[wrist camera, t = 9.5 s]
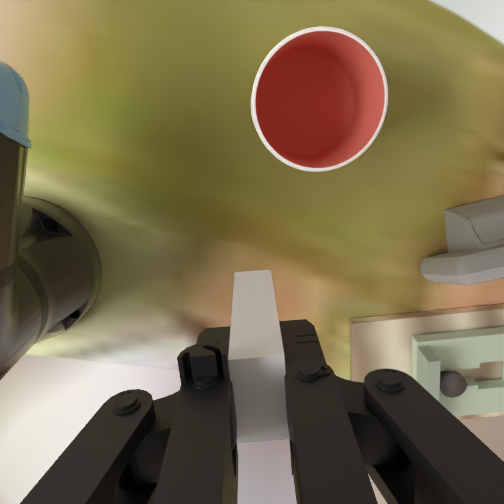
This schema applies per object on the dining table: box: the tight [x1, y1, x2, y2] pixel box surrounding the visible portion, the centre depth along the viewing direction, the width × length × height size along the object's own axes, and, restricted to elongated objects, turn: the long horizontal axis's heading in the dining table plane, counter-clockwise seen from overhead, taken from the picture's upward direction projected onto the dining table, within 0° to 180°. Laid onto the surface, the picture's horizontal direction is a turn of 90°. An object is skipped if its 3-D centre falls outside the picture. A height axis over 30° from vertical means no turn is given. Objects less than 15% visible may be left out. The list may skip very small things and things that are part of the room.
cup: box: [251, 26, 388, 172], centre depth 35 cm, size 10×10×10 cm
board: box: [349, 303, 504, 419], centre depth 47 cm, size 29×14×4 cm, turn 96°
